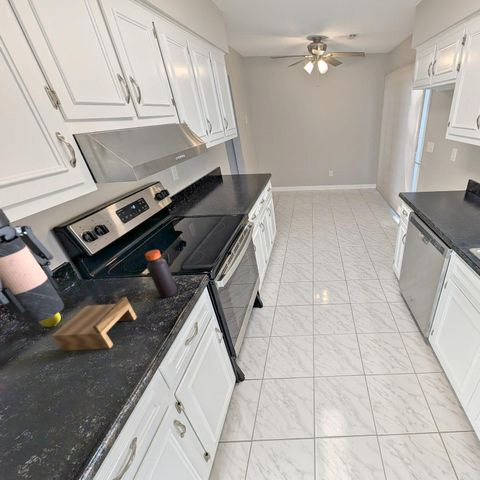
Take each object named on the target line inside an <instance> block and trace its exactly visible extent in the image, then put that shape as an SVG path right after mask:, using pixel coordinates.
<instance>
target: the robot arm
mask: <svg viewBox="0 0 480 480" xmlns="http://www.w3.org/2000/svg"><path fill="white" fill-rule="evenodd" d="M10 224H11V221H10V219H9V218H8V216H7V215H6V213H5V212H4V210H3V209H2V208H0V244H1V243H3V242H8V243H9V242H12V241H14V240H16V235H18V236H19V237H20V238H21V239H22V241H23V242H24V244H25V245H26V246H27V248H28V249H29V251H30V252H31V254H32V255H33V257H34V258H35V260H36V261H37V262H38V264H39V265H40V267H41V268H42V270H43V271H44V273H45V274H46V276H47V277H48V279H49V280H50V282H51V284H52V285H53V287H54V289H55V290H56V291H57V290H58V289H59V285H58V284H57V282H56V281H55V279H54V277H53V276H54V273H53V271H52V269H51V268H50V267H49V266H51V264H52V262H51V261H52V260H54V256H53V254H52V253H51V252H50V251H49V250H48V249H47V247H45V246H44V244H43V243H42V242H41V241H40V240H39V239H38V238H37V237H36V235H35V234H34V232H33V230H32V227H31V225H16V226H15V227H14V226H12V225H10ZM1 305H2V306H3V305H4V307H5V308H6V309H7V310H8V312H9V313H10V314H19V313H23V312H24V311H26V310H25V309H24V308H23V306H22V305H21V304H20V303H19V301H18V300H17V299H16V297H15V296H14V295H13V294H12V292H11V291H10V290H9V288H2V282H1V277H0V306H1Z"/></svg>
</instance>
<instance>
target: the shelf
mask: <svg viewBox="0 0 480 480" xmlns="http://www.w3.org/2000/svg"><path fill="white" fill-rule="evenodd" d="M135 320H137V314H136V313H135V311H134V309H133V307H132V305H131V303H130V301H129V300H128V298H127V296H123V297H121V298H120V299H119V300H118V301H117V302H116V303H110V304H93V305H86V306H85V307H83V308H82V309H81V310H80V311H79V312H78V313H76V315H74V316H73V317H72V318H71V319H70V320H68V321H67V322H66V323H65V324H63V325H62V326H61V327H60V328H59V329H58V330H56V331H55V332H54V333H53V334H52V335H51V337H52V338H53V339H54V341H55V342H56V344H57V345H58V346H59V347H60V348H61V350H62V351H64V352H65V351H82V350H83V351H84V350H101V349H102V350H103V349H104V350H105V349H111V348H112V347H113V346H114V343H113V342H112V340H111V339H110V337H109V335H108V334H107V333H108V332H109V330H110V329H111V328H112V327H113V326H115V324H116V323H117V322H129V321H135Z"/></svg>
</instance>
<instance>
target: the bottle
mask: <svg viewBox="0 0 480 480" xmlns="http://www.w3.org/2000/svg"><path fill="white" fill-rule="evenodd" d="M144 256H145V259H146V260H147V262H148V263H147V264H146V268H147V270H148V272H149V275H150V277H151V279H152V282H153V284H154V287H155V288H156V290H157V293H158V295H159V296H160V297H161V298H164V299H167V298H170V297H172V296H174V295H175V294H177V292H178V286H177V285H176V282H175V280H174V277H173V275H172V272H171V270H170V267H169V264H168V262H167V260H166V259H165V258H162V255H161V252H160V250H159V249H151V250H150V251H147V252H146V253H145V254H144Z"/></svg>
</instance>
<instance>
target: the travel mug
mask: <svg viewBox="0 0 480 480" xmlns="http://www.w3.org/2000/svg"><path fill="white" fill-rule="evenodd" d="M29 250H30V249H29V248H28V247H27V245H26V244H25V243H24V242H23V241H22V239H21V238H20V237H19V236H18V235H16V240H14V241H12V242H9V243H8V242H3V243H1V244H0V277H1V282H2V288H9V290H10V291H11V292H12V294H13V295H14V296H15V297H16V299H17V300H18V301H19V303H20V304H21V305H22V306H23V308H24V309H25V310H26V311H24V312H23V313H18V314H19V315H20V316H21V317H22V319H23V320H24V321H25V322H27V323H28V324H33V323H34V324H35V323H39V321H42V320H45V319H48V318H50V317H52V316H54V315H55V314H57V313H58V312H59V313H60V312H61V311H62V310H63V309H64V308H65V304H64V301H63V300H62V298H61V297H60V295H59V293H58V292H57V290H55V289H54V287H53V285H52V284H51V282H50V280H49V279H48V277H47V276H46V274H45V273H44V271H43V270H42V268H41V267H40V265H39V264H38V262H37V261H36V260H35V258H34V257H33V255H32V254H31V252H30V251H31V250H30V251H29Z"/></svg>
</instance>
